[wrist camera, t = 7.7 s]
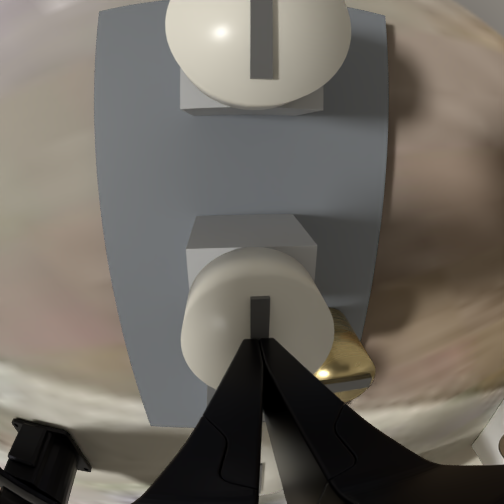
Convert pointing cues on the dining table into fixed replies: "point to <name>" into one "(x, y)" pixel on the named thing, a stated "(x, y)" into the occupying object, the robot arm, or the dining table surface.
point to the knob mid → (253, 311)
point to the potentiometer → (346, 362)
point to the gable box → (492, 440)
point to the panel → (228, 188)
